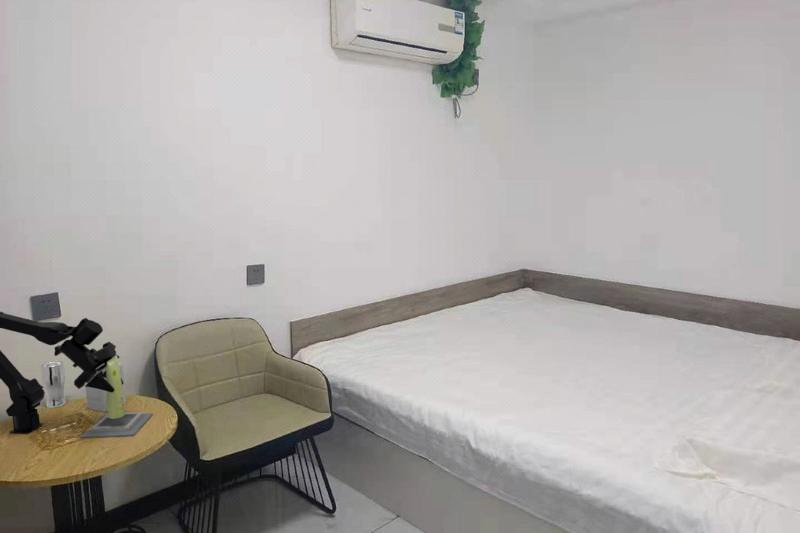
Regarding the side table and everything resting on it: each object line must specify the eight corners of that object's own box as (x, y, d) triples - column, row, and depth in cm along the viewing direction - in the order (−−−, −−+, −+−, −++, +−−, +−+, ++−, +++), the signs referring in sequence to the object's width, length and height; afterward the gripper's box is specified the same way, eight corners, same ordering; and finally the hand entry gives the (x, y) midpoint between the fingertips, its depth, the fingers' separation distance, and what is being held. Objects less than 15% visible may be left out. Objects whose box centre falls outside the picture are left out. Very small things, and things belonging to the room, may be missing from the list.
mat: (80, 438, 169) (80, 436, 169) (104, 416, 185) (104, 414, 184) (133, 436, 170) (133, 434, 170) (152, 414, 186) (152, 413, 186)
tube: (128, 416, 176) (124, 357, 173) (111, 421, 172) (106, 361, 169) (121, 411, 180) (116, 354, 177) (104, 416, 176) (100, 357, 173)
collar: (91, 433, 171) (90, 428, 171) (108, 417, 182) (107, 413, 182) (128, 431, 172) (128, 427, 172) (143, 416, 183) (142, 412, 183)
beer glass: (40, 407, 192) (35, 366, 190) (55, 400, 199) (51, 360, 196) (57, 409, 191) (53, 367, 189) (72, 401, 198) (68, 361, 195)
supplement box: (127, 403, 196) (123, 363, 193) (104, 412, 188) (100, 370, 185) (109, 399, 199) (105, 359, 197) (86, 408, 191) (82, 367, 189)
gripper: (81, 345, 162) (121, 381, 165) (111, 329, 181) (147, 361, 183) (56, 371, 163) (97, 406, 165) (89, 352, 182) (125, 383, 184)
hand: (118, 387), depth 174 cm, fingers closed on tube, 6 cm apart
